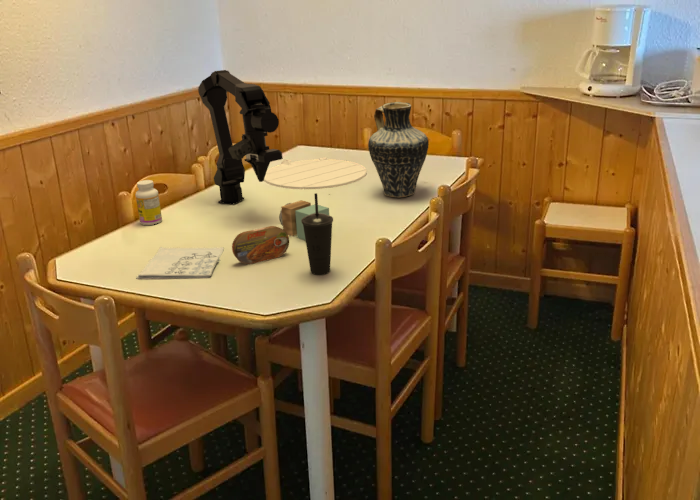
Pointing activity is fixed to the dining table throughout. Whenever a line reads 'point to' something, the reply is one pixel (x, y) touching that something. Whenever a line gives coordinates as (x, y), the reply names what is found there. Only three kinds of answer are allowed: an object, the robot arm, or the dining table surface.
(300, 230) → the socket block
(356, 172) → the lazy susan
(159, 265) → the folded printed napkin
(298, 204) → the sleeve block
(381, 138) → the jug
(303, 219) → the drinking cup
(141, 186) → the supplement bottle
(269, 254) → the tin
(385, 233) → the dining table surface
